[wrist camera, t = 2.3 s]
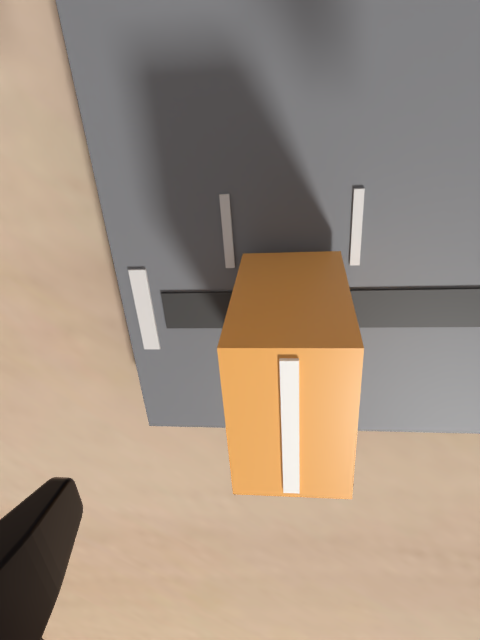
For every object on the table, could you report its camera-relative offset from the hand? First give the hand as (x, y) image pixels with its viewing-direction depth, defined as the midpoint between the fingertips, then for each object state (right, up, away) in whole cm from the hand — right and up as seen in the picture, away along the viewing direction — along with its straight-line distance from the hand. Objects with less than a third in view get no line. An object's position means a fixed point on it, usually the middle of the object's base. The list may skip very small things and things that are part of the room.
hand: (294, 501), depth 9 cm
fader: (+1, +4, +6) cm, 7 cm away
